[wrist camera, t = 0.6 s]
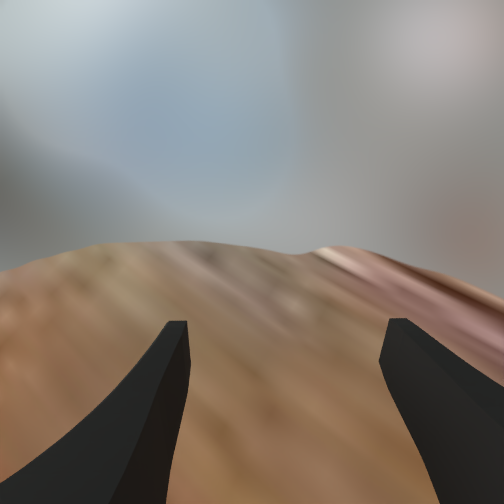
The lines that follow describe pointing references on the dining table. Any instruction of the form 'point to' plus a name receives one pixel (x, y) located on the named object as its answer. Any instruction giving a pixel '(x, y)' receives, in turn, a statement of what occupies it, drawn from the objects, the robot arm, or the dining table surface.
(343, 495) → the dining table surface
